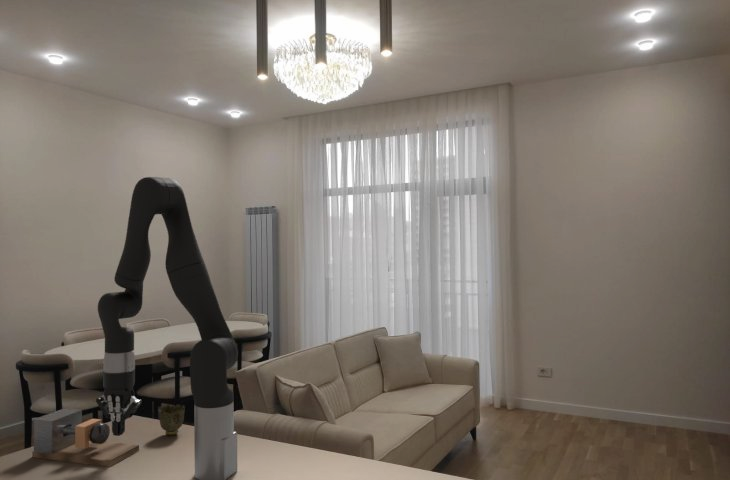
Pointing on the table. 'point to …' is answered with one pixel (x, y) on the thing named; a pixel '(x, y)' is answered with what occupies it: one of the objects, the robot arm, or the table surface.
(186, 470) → the table surface
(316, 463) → the table surface
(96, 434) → the shaft
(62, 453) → the baseboard
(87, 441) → the spacer
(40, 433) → the block
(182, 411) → the cup
